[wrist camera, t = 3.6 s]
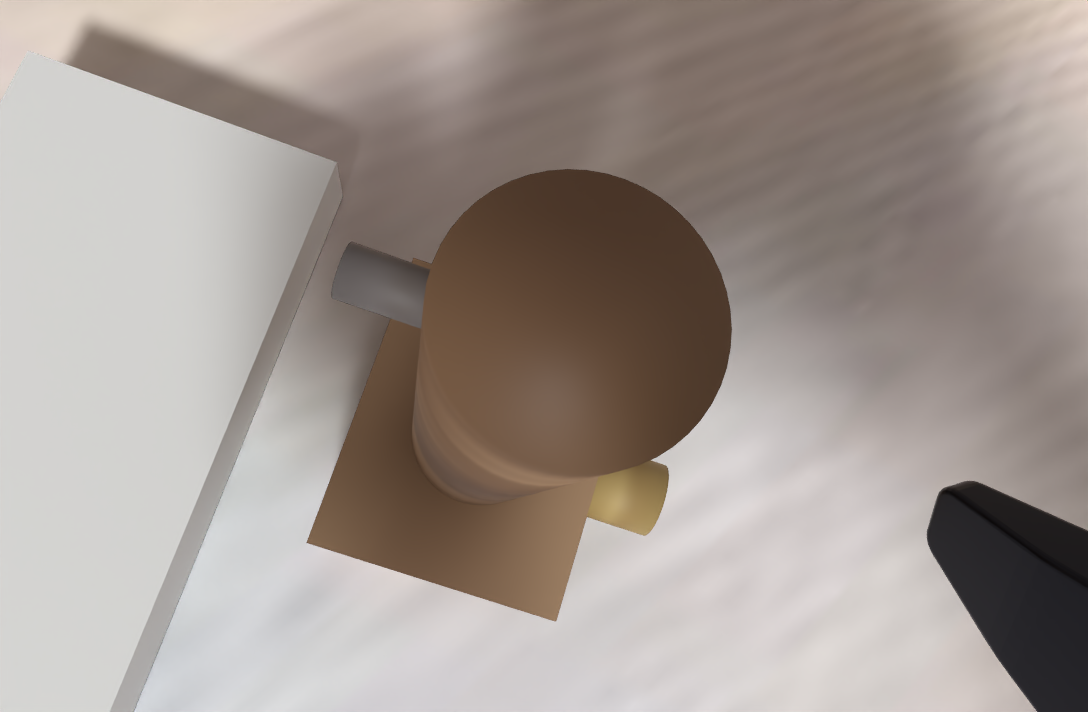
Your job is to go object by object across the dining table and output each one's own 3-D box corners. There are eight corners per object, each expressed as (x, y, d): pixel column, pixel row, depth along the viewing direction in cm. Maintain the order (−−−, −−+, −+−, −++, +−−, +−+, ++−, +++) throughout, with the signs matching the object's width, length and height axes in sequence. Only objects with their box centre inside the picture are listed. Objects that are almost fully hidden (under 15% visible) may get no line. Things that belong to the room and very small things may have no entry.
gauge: (659, 389, 21) (1039, 181, 8) (593, 625, 20) (933, 798, 7) (411, 302, 20) (426, -59, 8) (323, 540, 19) (168, 562, 6)
